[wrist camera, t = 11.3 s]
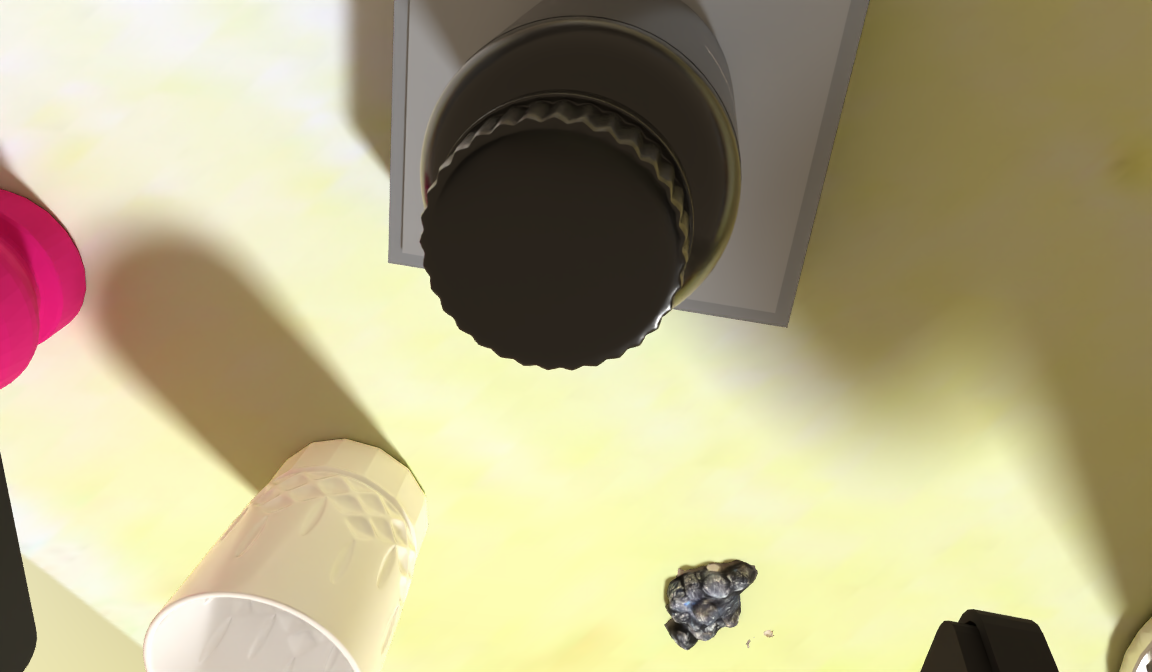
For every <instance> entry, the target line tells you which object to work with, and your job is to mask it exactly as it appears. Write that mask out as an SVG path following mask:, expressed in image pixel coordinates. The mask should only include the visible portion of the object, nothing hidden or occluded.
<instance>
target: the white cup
mask: <svg viewBox="0 0 1152 672" xmlns="http://www.w3.org/2000/svg"><path fill="white" fill-rule="evenodd" d="M427 528H428V515H427V502H426V496H425V494H424V492H423V491H422V489H421V488H420V486H419V485H418V483H417V481H416V480H415V478H414V477H413V475H412V473H411V472H410V470H409V469H408V468H407V467H405V466H404V465H403V464H401V463H400V462H398V461H397V460H396V459H394V458H393V457H391V456H390V455H389V454H387V453H386V452H384V451H383V450H382V449H380V448H378V447H374V446H370V445H367V444H363V443H359V442H356V441H352V440H348V439H337V440H329V441H321V442H313V443H310V444H309V445H308V446H306V447H305V448H303V449H302V450H300V451H299V452H297V453H296V454H294V455H293V456H291V457H290V458H289V459H287V460H286V461H285V463H284V464H283V465H282V466H281V468H280V469H279V470H278V471H277V473H276V474H275V475H274V476H273V478H272V479H271V480H270V482H269V483H268V484H267V485H266V486H265V487H264V488H263V489H262V490H261V491H260V492H259V493H258V494H257V495H256V496H255V497H254V498H253V499H252V500H251V501H250V502H249V503H248V504H247V506H246V507H245V508H244V510H243V511H242V512H241V514H240V515H239V516H238V517H237V518H236V519H235V520H234V521H233V522H232V523H231V525H230V526H229V527H228V528H227V529H226V530H225V532H224V533H223V534H222V535H221V536H220V538H219V539H218V540H217V541H216V543H215V544H214V545H213V546H212V548H211V549H210V550H209V551H208V553H207V554H206V555H205V556H204V558H203V559H202V560H201V561H200V562H199V564H198V565H197V566H196V567H195V569H194V570H193V571H192V572H191V574H190V575H189V576H188V577H187V579H186V580H185V581H184V582H183V583H182V585H181V586H180V587H179V588H178V590H177V591H176V592H175V593H174V594H173V596H172V597H171V598H170V599H169V601H168V602H167V603H166V604H165V605H164V607H163V608H162V609H161V610H160V612H159V613H158V614H157V615H156V616H155V618H154V619H153V620H152V622H151V624H150V625H149V627H148V629H147V632H146V635H145V639H144V644H143V658H144V664H145V668H146V672H381V670H382V668H383V665H384V662H385V659H386V656H387V653H388V651H389V648H390V645H391V642H392V639H393V636H394V634H395V631H396V628H397V625H398V622H399V619H400V616H401V613H402V610H403V605H404V602H405V599H406V596H407V594H408V591H409V587H410V584H411V581H412V576H413V571H414V566H415V562H416V559H417V556H418V553H419V550H420V548H421V545H422V542H423V540H424V537H425V534H426V531H427Z"/></svg>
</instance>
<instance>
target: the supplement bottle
mask: <svg viewBox="0 0 1152 672" xmlns="http://www.w3.org/2000/svg"><path fill="white" fill-rule="evenodd" d="M741 180H742V177H741V157H740V147H739V138H738V128H737V118H736V109H735V99H734V92H733V85H732V80H731V75H730V71H729V67H728V64H727V61H726V58H725V56H724V53H723V51H722V49H721V47H720V45H719V43H718V41H717V39H716V38H715V36H714V34H713V33H712V31H711V30H710V29H709V27H708V26H707V25H706V23H705V22H704V21H703V20H702V19H701V18H700V17H699V15H698V14H697V13H696V12H695V11H693V10H692V9H691V8H690V7H689V6H688V5H687V4H685V3H684V2H683V1H681V0H543V1H541V2H540V3H538V4H537V5H536V6H534V7H533V8H532V9H530V10H529V11H528V12H526V13H525V14H524V15H523V16H521V17H520V18H519V19H518V20H516V21H515V22H514V23H512V24H511V25H510V26H509V27H507V28H506V29H505V30H503V31H502V32H501V33H500V34H498V35H497V36H496V37H495V38H493V39H492V40H491V41H489V42H488V43H487V44H486V45H484V46H483V47H482V48H481V49H479V50H478V51H477V52H476V53H475V54H474V55H473V56H472V57H471V58H469V59H468V60H467V61H466V63H465V64H464V65H463V66H462V67H461V68H460V69H459V70H458V72H457V73H456V74H455V75H454V76H453V78H452V79H451V80H450V82H449V83H448V85H447V86H446V87H445V89H444V90H443V92H442V94H441V95H440V97H439V99H438V101H437V102H436V104H435V107H434V109H433V111H432V114H431V116H430V118H429V122H428V125H427V128H426V131H425V135H424V140H423V145H422V151H421V161H420V183H421V194H422V199H423V204H424V210H423V212H422V214H421V222H422V225H423V232H422V234H421V237H420V241H419V242H420V244H421V247H422V249H423V251H424V253H425V254H424V259H423V266H424V268H425V270H426V272H427V273H428V274H429V276H430V284H431V289H432V291H433V292H434V293H435V294H436V295H437V296H438V297H439V298H440V301H441V305H442V308H443V311H445V312H446V313H447V314H448V315H450V316H452V317H453V318H454V320H455V322H456V324H457V326H458V328H459V329H460V330H462V331H463V332H465V333H467V334H470V335H471V336H472V337H473V338H474V340H475V341H476V342H477V343H478V345H480V346H483V347H487V348H490V349H492V350H493V351H494V352H495V353H496V354H497V355H498V356H500V357H503V358H509V359H514V360H516V361H517V362H518V363H520V364H522V365H523V366H532V365H537V366H540V367H541V368H544V369H546V370H551V369H556V368H565V369H568V370H575V369H577V368H580V367H582V366H598V365H599V364H601V363H602V362H604V361H605V360H606V359H615V358H620V357H621V356H622V355H623V354H624V353H625V351H626V350H627V349H629V348H633V347H636V346H639V345H641V343H642V342H643V340H644V338H645V336H646V335H647V334H649V333H651V332H653V331H655V330H657V329H658V328H659V326H660V323H661V320H662V317H663V316H665V315H666V314H667V313H668V312H669V311H671V310H672V309H673V308H674V307H676V306H677V305H678V304H680V303H681V302H682V301H684V300H685V299H686V298H687V297H688V296H690V295H691V294H692V293H693V292H694V291H695V290H696V289H697V288H698V287H699V286H700V285H701V284H702V283H703V282H704V280H705V279H706V278H707V277H708V275H709V274H710V273H711V272H712V270H713V269H714V267H715V266H716V264H717V263H718V261H719V260H720V258H721V256H722V254H723V252H724V250H725V248H726V246H727V245H728V242H729V239H730V237H731V234H732V232H733V229H734V225H735V222H736V218H737V214H738V208H739V202H740V194H741Z"/></svg>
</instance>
